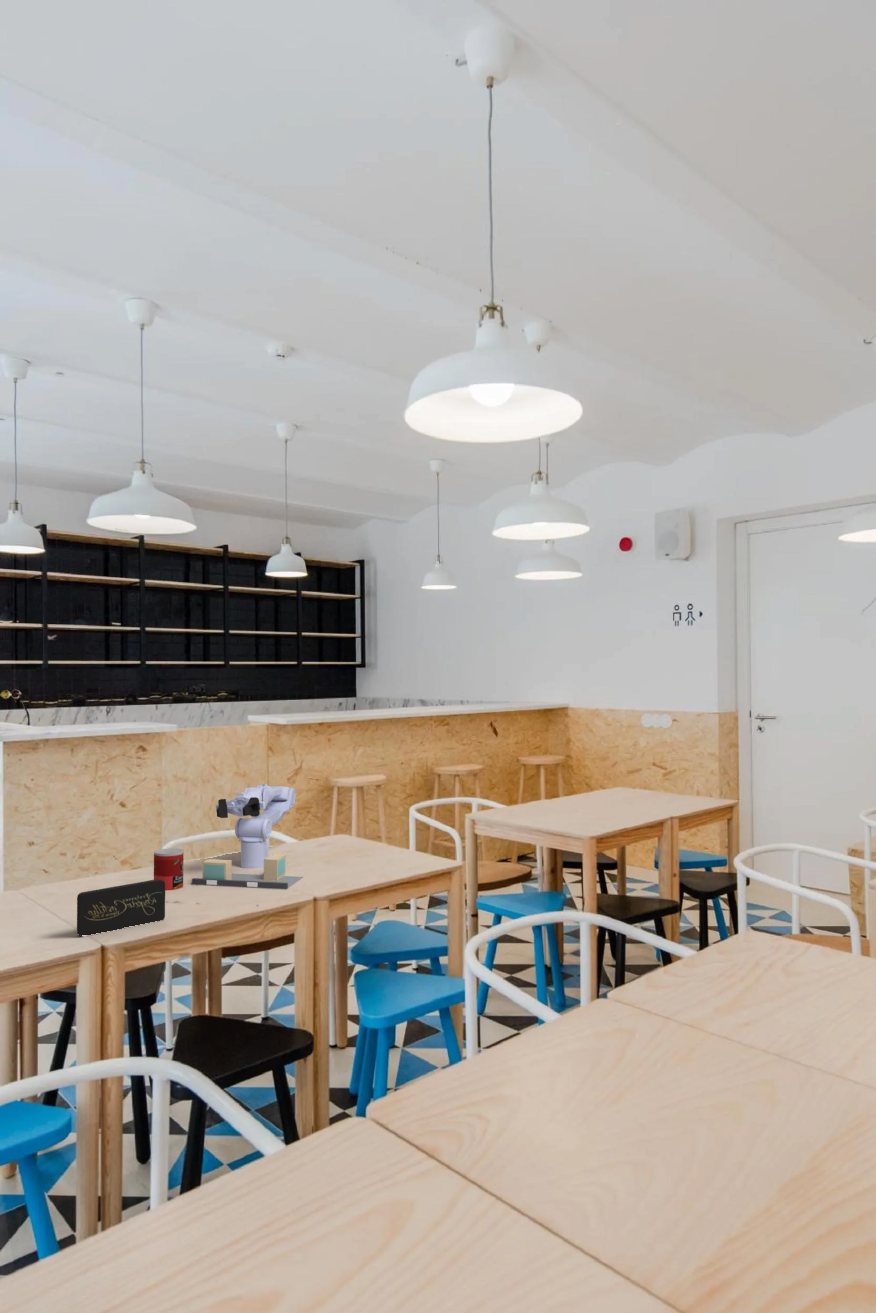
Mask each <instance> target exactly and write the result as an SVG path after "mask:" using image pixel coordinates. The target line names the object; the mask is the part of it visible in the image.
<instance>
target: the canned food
mask: <svg viewBox="0 0 876 1313" xmlns="http://www.w3.org/2000/svg"><path fill="white" fill-rule="evenodd" d="M184 859H185V858H184V850H183V849H182V848H175V847H174V848H173V847H172V848H170V847H169V848H168V847H167V848H161V849H160V848H159V849H156V850H154V851H153V880H155V879H160V880H163V881H164V882H165V892H167V891H176V890H179V889H182V888H184Z"/></svg>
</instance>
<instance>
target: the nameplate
mask: <svg viewBox="0 0 876 1313" xmlns="http://www.w3.org/2000/svg"><path fill="white" fill-rule="evenodd" d="M165 917H166V891H165V882H164V881H163V880H160V879H155V880H154V879H152V880H150V879H149V880H144V881H138V882H133V883H126V884H122V885H116V886H109V887H105V888H99V889H92V890H87V891H82V892H80V893H78V894H77V896H76V933H77V935H78V934H79V935H78V936H80V935H81V936H82V935H91V934H96V933H100V934H102V933H101V932H105V933H108V932H107V931H110V932H113V930H115V931H118V930H117V929H119V930H123V929H122V928H124V927H129V926H134V927H136V926H135V925H138V926H141V925H140V924H143V925H146V924H145V923H148V924H151V923H150V922H153V923H156V922H155V921H157V922H161V921H160V920H162V921H164V920H165ZM129 928H130V927H129ZM124 929H125V928H124ZM96 935H97V934H96ZM81 936H80V937H81ZM91 936H92V935H91Z"/></svg>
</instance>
